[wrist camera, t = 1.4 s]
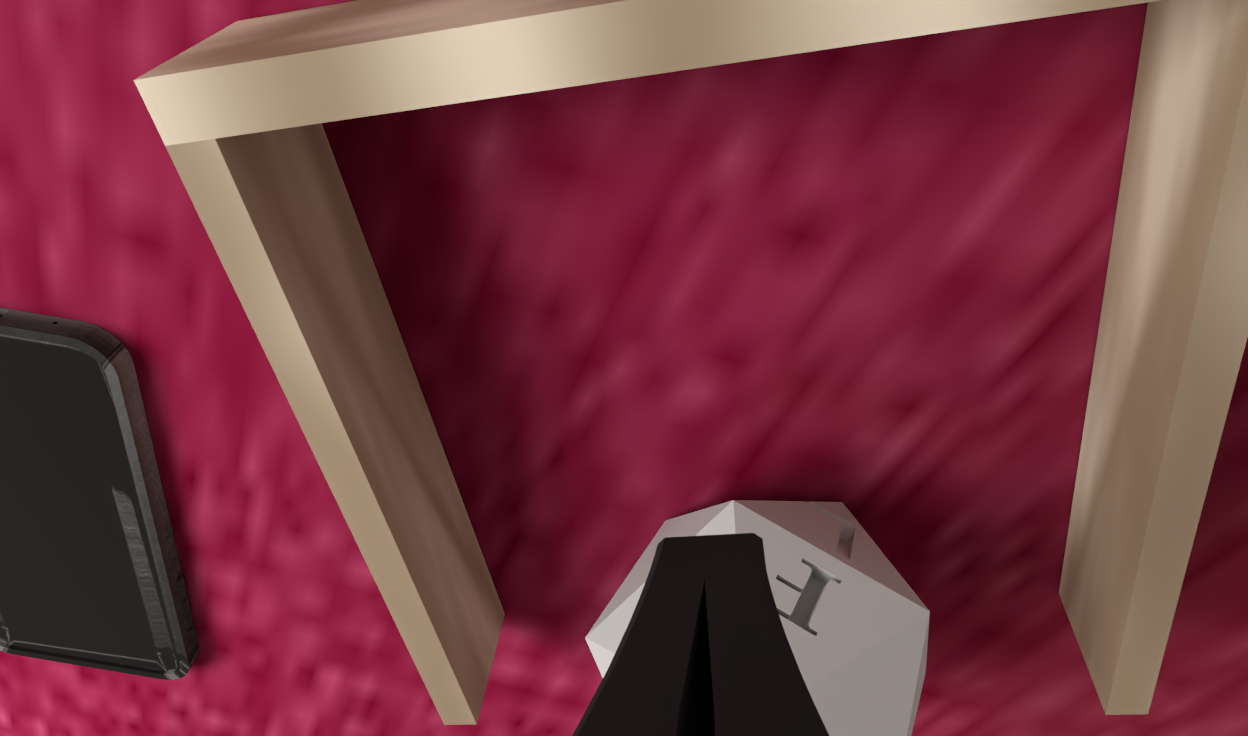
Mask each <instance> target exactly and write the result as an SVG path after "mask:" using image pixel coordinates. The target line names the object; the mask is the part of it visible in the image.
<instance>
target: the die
mask: <svg viewBox="0 0 1248 736" xmlns="http://www.w3.org/2000/svg"><path fill="white" fill-rule="evenodd" d="M741 533H755V534H756V535H758V536H759V537H761V538H762V539H763V546H764V555H765V563H766V570H767V575H768V579H769V583H770V587H771V591H772V594H773V597H774V601H775V604H776V607H777V610H778V614H779V617H780V620H781V623H782V625H783V628H784V631H785V634H786V637H787V639H788V642H789V644H790V647H791V649H792V652H793V654H794V657H795V659H796V662H797V664H798V667H799V670H800V672H801V675H802V677H803V679H804V682H805V684H806V686H807V688H808V691H809V693H810V695H811V698H812V700H813V702H814V704H815V706H816V708H817V710H818V713H819V715H820V717H821V719H822V721H823V723H824V725H825V728H826V730H827V732H828V734H829V736H911V735H912V730H913V726H914V721H915V717H916V713H917V708H918V704H919V700H920V695H921V691H922V687H923V682H924V678H925V673H926V662H927V647H928V632H929V617H930V611H929V610H928V609H927V607H926V606H925V605H924V604H923V602H922V601H921V600H920V599H919V597H918V596H917V595H916V594H915V592H914V591H913V590H912V589H911V587H910V586H909V585H908V584H907V582H906V581H905V580H904V579H903V577H902V576H901V575H900V574H899V572H898V571H897V570H896V569H895V567H894V566H893V565H892V564H891V562H890V561H889V560H888V559H887V557H886V556H885V555H884V554H883V552H882V551H881V550H880V549H879V547H878V546H877V545H876V544H875V542H874V541H873V540H872V539H871V537H870V536H869V535H868V534H867V532H866V531H865V530H864V529H863V527H862V526H861V525H860V524H859V522H858V521H857V520H856V519H855V517H854V516H853V515H852V514H851V512H850V511H849V510H848V509H847V507H846V506H845V505H844V504H843V502H812V501H811V502H804V501H757V500H732V501H728V502H725V503H722V504H718V505H715V506H712V507H708V508H705V509H702V510H698V511H695V512H692V513H688V514H685V515H682V516H678V517H675V518H672V519H668V520H666V521H665V522H664V523H663V525H662V526H661V528H660V529H659V531H658V532H657V534H656V535H655V537H654V538H653V539H652V541H651V542H650V544H649V545H648V547H647V548H646V550H645V551H644V553H643V554H642V555H641V557H640V558H639V560H638V561H637V563H636V564H635V566H634V567H633V569H632V570H631V571H630V573H629V574H628V576H627V577H626V579H625V580H624V582H623V583H622V585H621V586H620V587H619V589H618V590H617V592H616V593H615V595H614V596H613V598H612V599H611V601H610V602H609V604H608V605H607V606H606V608H605V609H604V611H603V612H602V614H601V615H600V617H599V618H598V620H597V621H596V622H595V624H594V625H593V627H592V628H591V630H590V631H589V633H588V634H587V636H586V637H585V639H586V641H587V644H588V646H589V648H590V650H591V653H592V655H593V657H594V659H595V662H596V664H597V666H598V668H599V671H600V673H601V675H602V678H604V676H605V674H606V672H607V670H608V668H609V666H610V663H611V661H612V659H613V657H614V655H615V653H616V650H617V648H618V646H619V644H620V642H621V640H622V637H623V635H624V633H625V631H626V629H627V627H628V624H629V622H630V620H631V617H632V615H633V612H634V610H635V608H636V605H637V603H638V600H639V598H640V595H641V593H642V590H643V588H644V585H645V582H646V579H647V577H648V574H649V571H650V568H651V565H652V562H653V559H654V555H655V552H656V549H657V545H658V543H659V542H660V541H662V540H663V539H664V538H666V537H685V536H703V535H722V534H741Z"/></svg>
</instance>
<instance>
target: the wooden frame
mask: <svg viewBox="0 0 1248 736" xmlns="http://www.w3.org/2000/svg"><path fill="white" fill-rule="evenodd" d="M1147 2H1148V5H1147V12H1146V19H1145V25H1144V32H1143V38H1142V45H1141V52H1140V58H1139V65H1138V72H1137V78H1136V85H1135V91H1134V98H1133V105H1132V111H1131V118H1130V124H1129V131H1128V138H1127V144H1126V151H1125V158H1124V164H1123V171H1122V177H1121V184H1120V191H1119V197H1118V204H1117V211H1116V217H1115V224H1114V230H1113V237H1112V244H1111V250H1110V257H1109V264H1108V270H1107V277H1106V283H1105V290H1104V297H1103V303H1102V310H1101V317H1100V323H1099V330H1098V336H1097V343H1096V350H1095V356H1094V363H1093V370H1092V376H1091V383H1090V389H1089V396H1088V403H1087V409H1086V416H1085V423H1084V429H1083V436H1082V442H1081V449H1080V456H1079V462H1078V469H1077V475H1076V482H1075V489H1074V495H1073V502H1072V509H1071V515H1070V522H1069V528H1068V535H1067V542H1066V548H1065V555H1064V562H1063V568H1062V575H1061V581H1060V588H1059V595H1060V598H1061V600H1062V603H1063V605H1064V608H1065V611H1066V613H1067V616H1068V618H1069V621H1070V624H1071V626H1072V629H1073V631H1074V634H1075V637H1076V639H1077V642H1078V644H1079V647H1080V649H1081V652H1082V655H1083V657H1084V660H1085V662H1086V665H1087V668H1088V670H1089V673H1090V675H1091V678H1092V681H1093V683H1094V686H1095V688H1096V691H1097V693H1098V696H1099V699H1100V701H1101V704H1102V706H1103V709H1104V712H1105V714H1106V715H1126V714H1148V712H1149V708H1150V705H1151V701H1152V697H1153V693H1154V689H1155V686H1156V682H1157V678H1158V674H1159V671H1160V667H1161V663H1162V659H1163V655H1164V652H1165V648H1166V644H1167V640H1168V636H1169V633H1170V629H1171V625H1172V621H1173V618H1174V614H1175V610H1176V606H1177V602H1178V599H1179V595H1180V591H1181V587H1182V583H1183V580H1184V576H1185V572H1186V568H1187V565H1188V561H1189V557H1190V553H1191V549H1192V546H1193V542H1194V538H1195V534H1196V530H1197V527H1198V523H1199V519H1200V515H1201V512H1202V508H1203V504H1204V500H1205V496H1206V493H1207V489H1208V485H1209V481H1210V477H1211V474H1212V470H1213V466H1214V462H1215V459H1216V455H1217V451H1218V447H1219V443H1220V440H1221V436H1222V432H1223V428H1224V424H1225V421H1226V417H1227V413H1228V409H1229V406H1230V402H1231V398H1232V394H1233V390H1234V387H1235V383H1236V379H1237V375H1238V371H1239V368H1240V364H1241V360H1242V356H1243V353H1244V349H1245V345H1246V341H1247V337H1248V0H357V1H351V2H345V3H339V4H333V5H328V6H322V7H316V8H310V9H304V10H298V11H293V12H287V13H281V14H275V15H269V16H263V17H258V18H252V19H246V20H240V21H236V22H235V23H233V24H231V25H229V26H228V27H226V28H224V29H222V30H221V31H219V32H217V33H215V34H214V35H212V36H210V37H208V38H207V39H205V40H203V41H201V42H200V43H198V44H196V45H194V46H193V47H191V48H189V49H187V50H186V51H184V52H182V53H180V54H179V55H177V56H175V57H173V58H172V59H170V60H168V61H166V62H165V63H163V64H161V65H159V66H158V67H156V68H154V69H152V70H151V71H149V72H147V73H145V74H144V75H142V76H140V77H138V78H137V79H135V80H134V82H135V84H136V86H137V88H138V90H139V92H140V94H141V96H142V99H143V101H144V103H145V105H146V107H147V109H148V111H149V113H150V115H151V117H152V119H153V121H154V123H155V126H156V128H157V130H158V132H159V134H160V136H161V138H162V140H163V142H164V144H165V146H166V148H167V150H168V153H169V155H170V157H171V159H172V161H173V163H174V165H175V167H176V169H177V171H178V173H179V175H180V177H181V179H182V182H183V184H184V186H185V188H186V190H187V192H188V194H189V196H190V198H191V200H192V202H193V204H194V206H195V209H196V211H197V213H198V215H199V217H200V219H201V221H202V223H203V225H204V227H205V229H206V231H207V233H208V236H209V238H210V240H211V242H212V244H213V246H214V248H215V250H216V252H217V254H218V256H219V258H220V260H221V262H222V265H223V267H224V269H225V271H226V273H227V275H228V277H229V279H230V281H231V283H232V285H233V287H234V289H235V292H236V294H237V296H238V298H239V300H240V302H241V304H242V306H243V308H244V310H245V312H246V314H247V316H248V319H249V321H250V323H251V325H252V327H253V329H254V331H255V333H256V335H257V337H258V339H259V341H260V343H261V346H262V348H263V350H264V352H265V354H266V356H267V358H268V360H269V362H270V364H271V366H272V368H273V370H274V372H275V375H276V377H277V379H278V381H279V383H280V385H281V387H282V389H283V391H284V393H285V395H286V397H287V399H288V402H289V404H290V406H291V408H292V410H293V412H294V414H295V416H296V418H297V420H298V422H299V424H300V426H301V429H302V431H303V433H304V435H305V437H306V439H307V441H308V443H309V445H310V447H311V449H312V451H313V453H314V455H315V458H316V460H317V462H318V464H319V466H320V468H321V470H322V472H323V474H324V476H325V478H326V480H327V482H328V485H329V487H330V489H331V491H332V493H333V495H334V497H335V499H336V501H337V503H338V505H339V507H340V509H341V512H342V514H343V516H344V518H345V520H346V522H347V524H348V526H349V528H350V530H351V532H352V534H353V536H354V538H355V541H356V543H357V545H358V547H359V549H360V551H361V553H362V555H363V557H364V559H365V561H366V563H367V565H368V568H369V570H370V572H371V574H372V576H373V578H374V580H375V582H376V584H377V586H378V588H379V590H380V592H381V595H382V597H383V599H384V601H385V603H386V605H387V607H388V609H389V611H390V613H391V615H392V617H393V619H394V622H395V624H396V626H397V628H398V630H399V632H400V634H401V636H402V638H403V640H404V642H405V644H406V646H407V648H408V651H409V653H410V655H411V657H412V659H413V661H414V663H415V665H416V667H417V669H418V671H419V673H420V675H421V678H422V680H423V682H424V684H425V686H426V688H427V690H428V692H429V694H430V696H431V698H432V700H433V702H434V705H435V707H436V709H437V711H438V713H439V715H440V717H441V719H442V721H443V723H444V725H462V724H477V721H478V717H479V713H480V710H481V706H482V702H483V698H484V694H485V690H486V686H487V682H488V678H489V674H490V671H491V667H492V663H493V659H494V655H495V651H496V647H497V643H498V639H499V636H500V632H501V628H502V624H503V620H504V616H505V613H504V610H503V608H502V605H501V602H500V599H499V597H498V594H497V591H496V589H495V586H494V583H493V581H492V578H491V575H490V573H489V570H488V567H487V565H486V562H485V559H484V557H483V554H482V551H481V549H480V546H479V543H478V541H477V538H476V535H475V533H474V530H473V527H472V524H471V522H470V519H469V516H468V514H467V511H466V508H465V506H464V503H463V500H462V498H461V495H460V492H459V490H458V487H457V484H456V482H455V479H454V476H453V474H452V471H451V468H450V466H449V463H448V460H447V458H446V455H445V452H444V449H443V447H442V444H441V441H440V439H439V436H438V433H437V431H436V428H435V425H434V423H433V420H432V417H431V415H430V412H429V409H428V407H427V404H426V401H425V399H424V396H423V393H422V391H421V388H420V385H419V383H418V380H417V377H416V374H415V372H414V369H413V366H412V364H411V361H410V358H409V356H408V353H407V350H406V348H405V345H404V342H403V340H402V337H401V334H400V332H399V329H398V326H397V324H396V321H395V318H394V316H393V313H392V310H391V308H390V305H389V302H388V299H387V297H386V294H385V291H384V289H383V286H382V283H381V281H380V278H379V275H378V273H377V270H376V267H375V265H374V262H373V259H372V257H371V254H370V251H369V249H368V246H367V243H366V241H365V238H364V235H363V233H362V230H361V227H360V224H359V222H358V219H357V216H356V214H355V211H354V208H353V206H352V203H351V200H350V198H349V195H348V192H347V190H346V187H345V184H344V182H343V179H342V176H341V174H340V171H339V168H338V166H337V163H336V160H335V157H334V155H333V152H332V149H331V147H330V144H329V141H328V139H327V136H326V133H325V131H324V128H323V125H322V123H326V122H333V121H340V120H346V119H353V118H360V117H367V116H374V115H381V114H388V113H394V112H401V111H408V110H415V109H422V108H429V107H435V106H442V105H449V104H456V103H463V102H470V101H476V100H483V99H490V98H497V97H504V96H511V95H518V94H524V93H531V92H538V91H545V90H552V89H559V88H565V87H572V86H579V85H586V84H593V83H600V82H606V81H613V80H620V79H627V78H634V77H641V76H648V75H654V74H661V73H668V72H675V71H682V70H689V69H695V68H702V67H709V66H716V65H723V64H730V63H737V62H743V61H750V60H757V59H764V58H771V57H778V56H784V55H791V54H798V53H805V52H812V51H819V50H825V49H832V48H839V47H846V46H853V45H860V44H867V43H873V42H880V41H887V40H894V39H901V38H908V37H914V36H921V35H928V34H935V33H942V32H949V31H956V30H962V29H969V28H976V27H983V26H990V25H997V24H1003V23H1010V22H1017V21H1024V20H1031V19H1038V18H1044V17H1051V16H1058V15H1065V14H1072V13H1079V12H1086V11H1092V10H1099V9H1106V8H1113V7H1120V6H1127V5H1133V4H1140V3H1147Z"/></svg>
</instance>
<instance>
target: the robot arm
mask: <svg viewBox="0 0 1248 736" xmlns="http://www.w3.org/2000/svg"><path fill="white" fill-rule="evenodd" d="M572 736H829V734H828V732H827V730H826V728H825V725H824V723H823V721H822V719H821V717H820V715H819V713H818V710H817V708H816V706H815V704H814V702H813V700H812V698H811V695H810V693H809V691H808V688H807V686H806V684H805V682H804V679H803V677H802V675H801V672H800V670H799V667H798V664H797V662H796V659H795V657H794V654H793V652H792V649H791V647H790V644H789V642H788V639H787V637H786V634H785V631H784V628H783V625H782V623H781V620H780V617H779V614H778V610H777V607H776V604H775V601H774V597H773V594H772V591H771V587H770V583H769V579H768V575H767V570H766V563H765V555H764V546H763V539H762V538H761V537H759V536H758V535H756V534H755V533H741V534H722V535H703V536H685V537H666V538H664V539H663V540H662V541H660V542H659V543H658V545H657V549H656V552H655V555H654V559H653V562H652V565H651V568H650V571H649V574H648V577H647V579H646V582H645V585H644V588H643V590H642V593H641V595H640V598H639V600H638V603H637V605H636V608H635V610H634V612H633V615H632V617H631V620H630V622H629V624H628V627H627V629H626V631H625V633H624V635H623V637H622V640H621V642H620V644H619V646H618V648H617V650H616V653H615V655H614V657H613V659H612V661H611V663H610V666H609V668H608V670H607V672H606V674H605V676H604V678H603V680H602V682H601V684H600V685H599V687H598V689H597V691H596V693H595V695H594V697H593V699H592V700H591V702H590V704H589V706H588V708H587V710H586V712H585V714H584V715H583V717H582V719H581V721H580V723H579V725H578V727H577V728H576V730H575V732H574V734H573V735H572Z"/></svg>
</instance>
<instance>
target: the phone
mask: <svg viewBox="0 0 1248 736" xmlns="http://www.w3.org/2000/svg"><path fill="white" fill-rule="evenodd" d="M0 314H1V315H3V316H2V317H0V651H2V652H6V653H10V654H15V655H21V656H27V657H33V658H39V659H45V660H51V661H56V662H62V663H68V664H74V665H80V666H86V667H92V668H98V669H104V670H110V671H116V672H122V673H128V674H134V675H140V676H146V677H152V678H158V679H166V680H174V679H180V678H182V677H184V676H186V674H187V673H188V671H189V670H190V668H191V666H192V665H193V663H194V661H195V659H196V658H197V656H198V654H199V643H198V639H197V635H196V630H195V626H194V622H193V617H192V613H191V609H190V604H189V600H188V596H187V591H186V586H185V582H184V578H183V574H182V570H181V565H180V561H179V557H178V552H177V548H176V544H175V539H174V535H173V531H172V527H171V522H170V518H169V514H168V509H167V505H166V501H165V496H164V492H163V488H162V483H161V479H160V475H159V470H158V466H157V462H156V457H155V453H154V449H153V444H152V440H151V436H150V431H149V427H148V423H147V418H146V414H145V410H144V405H143V401H142V397H141V392H140V388H139V384H138V379H137V375H136V371H135V366H134V363H133V360H132V358H131V355H130V353H129V352H128V350H127V349H126V348H125V346H124V345H123V344H122V343H121V342H120V341H119V340H118V339H117V338H116V337H114V336H113V335H112V334H111V333H110V332H108V331H106V330H104V329H102V328H100V327H98V326H97V325H93V324H90V323H86V322H83V321H77V320H71V319H65V318H59V317H53V316H48V315H42V314H36V313H30V312H24V311H18V310H12V309H6V308H0ZM53 322H58V323H57V324H52V323H53Z"/></svg>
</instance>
